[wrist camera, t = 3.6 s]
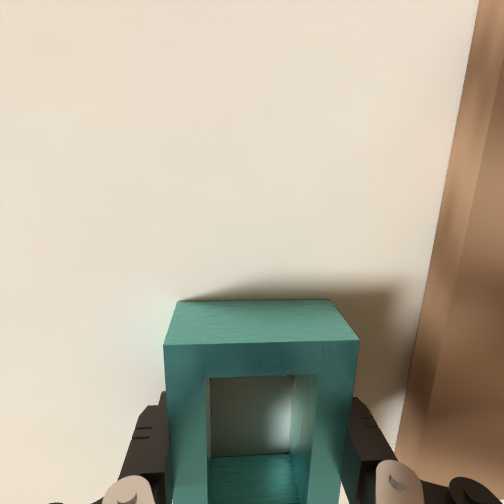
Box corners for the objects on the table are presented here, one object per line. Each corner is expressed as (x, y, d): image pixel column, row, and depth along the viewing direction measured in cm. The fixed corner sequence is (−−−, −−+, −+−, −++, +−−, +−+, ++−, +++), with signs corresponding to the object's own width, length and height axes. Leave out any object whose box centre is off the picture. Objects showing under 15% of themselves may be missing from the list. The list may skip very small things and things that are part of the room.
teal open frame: (177, 301, 12) (163, 345, 9) (329, 299, 13) (359, 339, 10) (185, 479, 15) (176, 557, 12) (312, 471, 15) (332, 543, 12)
